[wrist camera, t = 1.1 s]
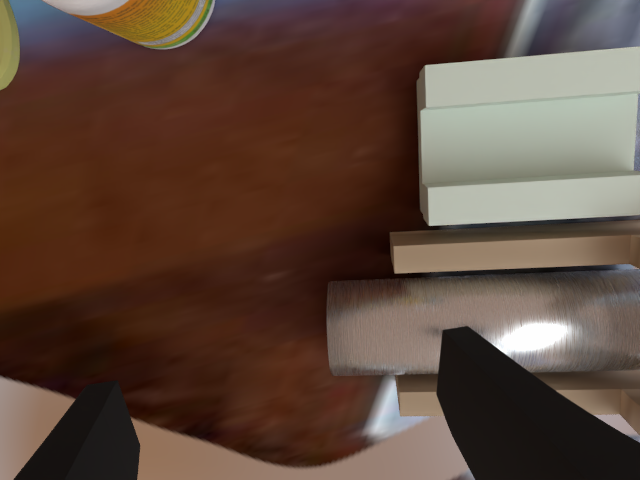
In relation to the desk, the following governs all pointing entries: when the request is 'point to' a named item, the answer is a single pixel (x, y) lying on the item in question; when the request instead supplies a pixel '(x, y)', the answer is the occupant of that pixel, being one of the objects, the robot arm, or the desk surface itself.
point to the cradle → (529, 138)
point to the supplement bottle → (144, 18)
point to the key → (8, 44)
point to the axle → (487, 320)
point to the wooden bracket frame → (525, 252)
